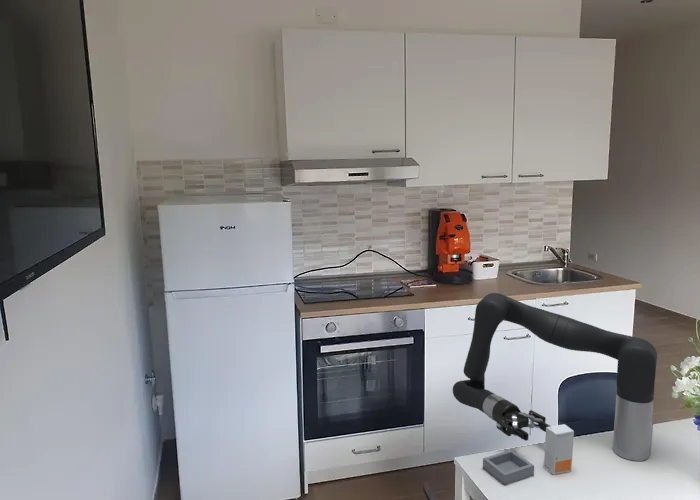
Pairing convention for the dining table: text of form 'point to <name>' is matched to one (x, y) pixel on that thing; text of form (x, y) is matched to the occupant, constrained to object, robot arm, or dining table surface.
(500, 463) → the gray tray
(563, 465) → the skincare box
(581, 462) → the dining table surface
